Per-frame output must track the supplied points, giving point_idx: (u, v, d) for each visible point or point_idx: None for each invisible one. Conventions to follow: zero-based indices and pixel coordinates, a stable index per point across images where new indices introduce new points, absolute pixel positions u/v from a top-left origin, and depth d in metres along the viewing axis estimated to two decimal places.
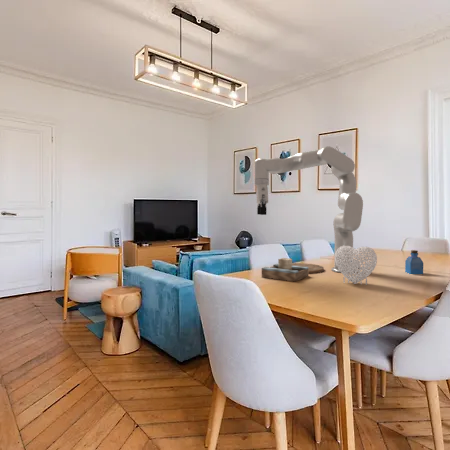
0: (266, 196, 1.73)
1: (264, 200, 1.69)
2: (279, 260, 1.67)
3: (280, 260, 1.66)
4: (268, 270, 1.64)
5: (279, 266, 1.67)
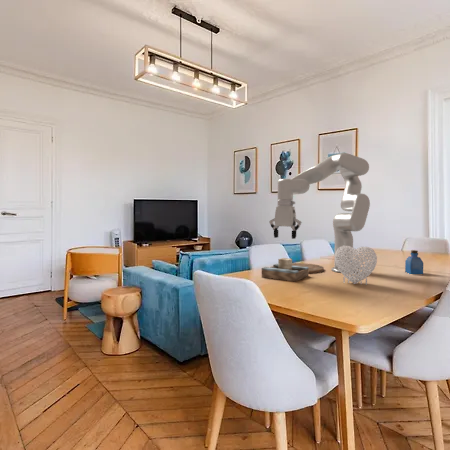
0: (295, 219, 1.65)
1: (300, 223, 1.62)
2: (279, 260, 1.67)
3: (280, 260, 1.66)
4: (268, 270, 1.64)
5: (279, 266, 1.67)
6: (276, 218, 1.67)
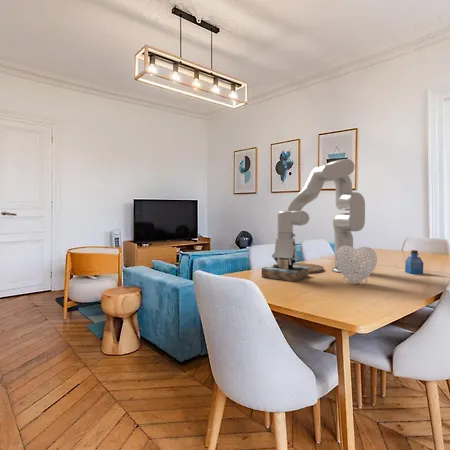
0: (295, 251, 1.66)
1: (297, 259, 1.63)
2: (279, 260, 1.67)
3: (280, 260, 1.66)
4: (268, 270, 1.64)
5: (279, 266, 1.67)
6: (276, 250, 1.68)
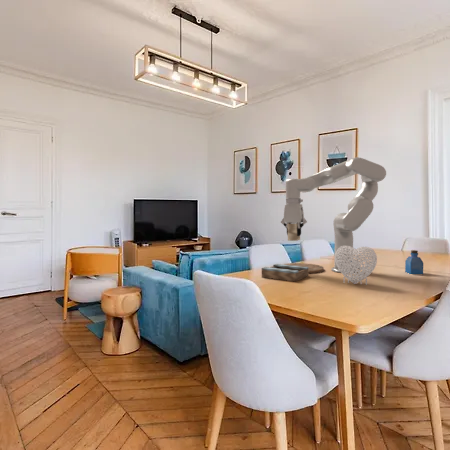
0: (303, 215, 1.78)
1: (305, 223, 1.76)
2: (288, 224, 1.79)
3: (289, 224, 1.79)
4: (268, 270, 1.64)
5: (288, 230, 1.79)
6: (285, 215, 1.80)
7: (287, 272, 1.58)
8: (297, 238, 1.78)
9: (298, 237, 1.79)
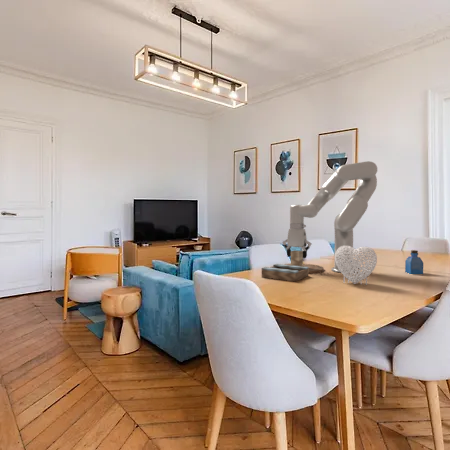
0: None
1: (310, 245, 1.82)
2: (291, 252, 1.86)
3: (292, 252, 1.86)
4: (268, 270, 1.64)
5: (291, 257, 1.87)
6: (289, 239, 1.87)
7: (287, 272, 1.58)
8: (299, 265, 1.85)
9: (301, 264, 1.86)
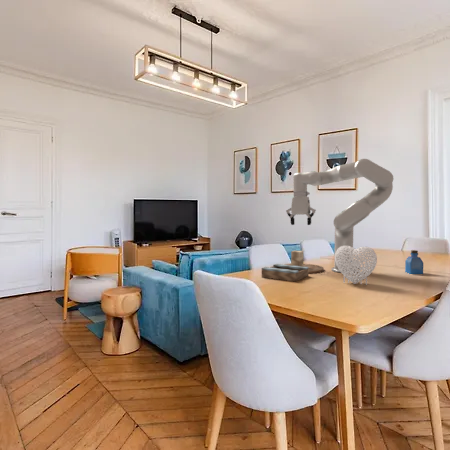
0: None
1: None
2: (292, 252, 1.86)
3: (292, 252, 1.86)
4: (268, 270, 1.64)
5: (292, 257, 1.87)
6: (293, 207, 1.89)
7: (287, 272, 1.58)
8: (300, 265, 1.85)
9: (301, 264, 1.86)
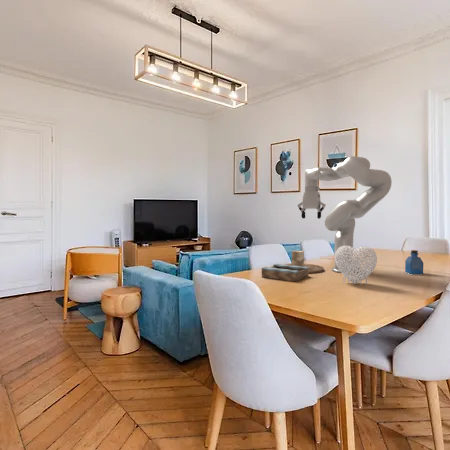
0: None
1: (324, 206, 1.95)
2: (292, 252, 1.86)
3: (293, 252, 1.86)
4: (268, 270, 1.64)
5: (292, 257, 1.86)
6: (304, 202, 2.00)
7: (287, 272, 1.58)
8: (300, 265, 1.85)
9: (302, 264, 1.86)
